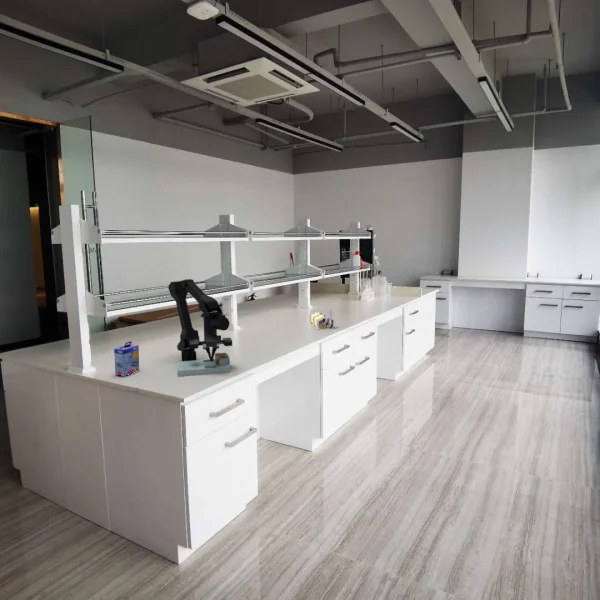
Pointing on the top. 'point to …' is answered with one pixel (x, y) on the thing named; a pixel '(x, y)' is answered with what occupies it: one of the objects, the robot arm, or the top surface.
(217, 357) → the walnut block
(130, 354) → the ink cartridge box
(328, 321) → the diorama
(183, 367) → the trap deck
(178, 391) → the top surface
